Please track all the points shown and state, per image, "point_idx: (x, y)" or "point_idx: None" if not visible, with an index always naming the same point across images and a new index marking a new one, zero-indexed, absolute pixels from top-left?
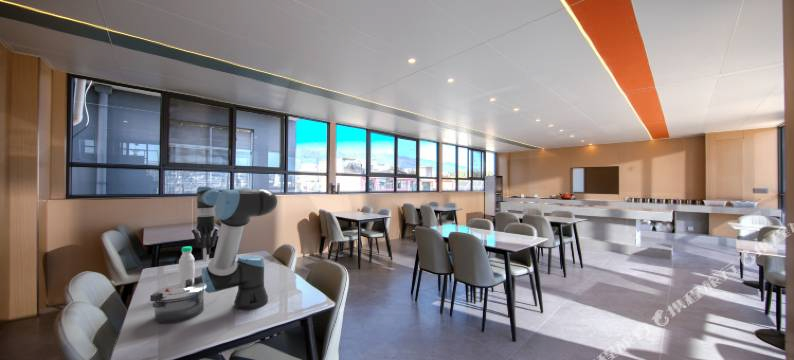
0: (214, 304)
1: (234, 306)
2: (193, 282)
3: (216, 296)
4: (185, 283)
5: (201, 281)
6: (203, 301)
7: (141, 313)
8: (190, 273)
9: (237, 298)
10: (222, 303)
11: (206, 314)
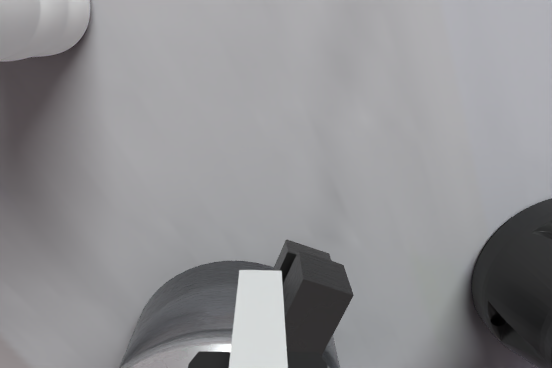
0: (355, 257)
1: (480, 316)
2: None
3: (316, 133)
4: (183, 360)
5: None
6: (334, 348)
7: (21, 312)
8: (3, 36)
9: (522, 356)
10: (396, 250)
11: (364, 361)
